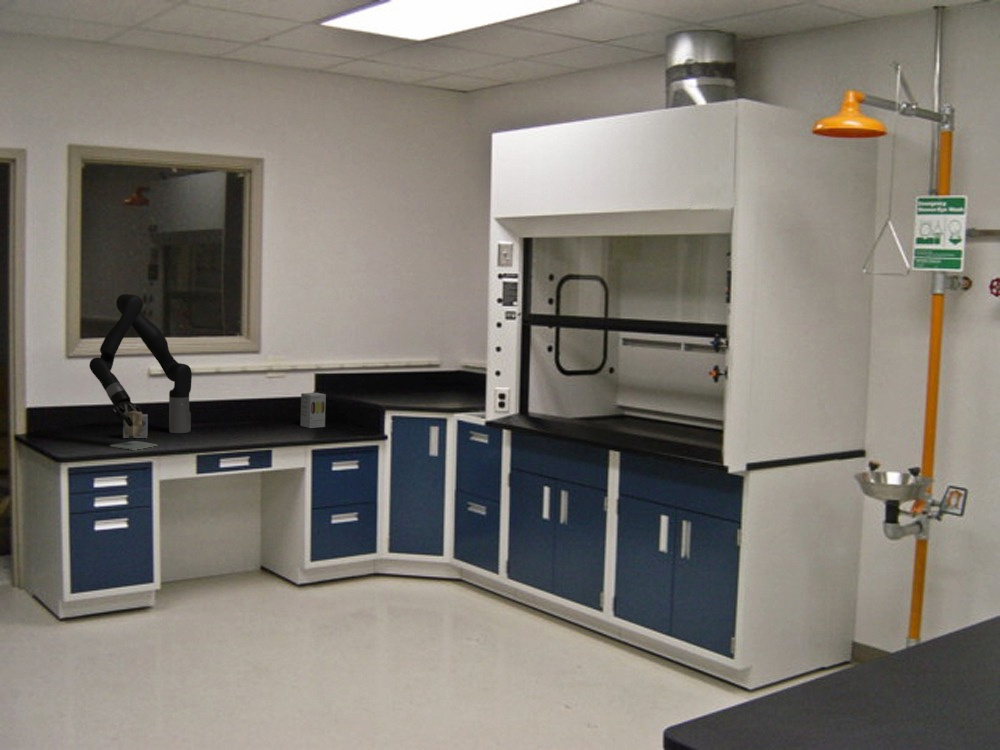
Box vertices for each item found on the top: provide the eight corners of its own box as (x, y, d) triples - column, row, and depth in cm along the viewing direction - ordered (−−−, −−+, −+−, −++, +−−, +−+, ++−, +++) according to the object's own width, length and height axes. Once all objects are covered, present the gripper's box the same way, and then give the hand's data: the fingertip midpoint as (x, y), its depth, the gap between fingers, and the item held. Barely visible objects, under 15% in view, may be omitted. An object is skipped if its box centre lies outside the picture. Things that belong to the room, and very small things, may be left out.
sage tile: (135, 442, 487) (135, 440, 487) (157, 446, 480) (157, 444, 480) (110, 447, 475) (110, 444, 475) (132, 451, 468) (132, 448, 468)
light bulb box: (122, 439, 495) (122, 416, 494) (123, 436, 502) (123, 413, 500) (147, 439, 498) (147, 416, 497) (147, 436, 505) (147, 413, 503)
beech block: (134, 433, 480) (134, 411, 479) (141, 434, 478) (142, 412, 477) (125, 434, 476) (125, 412, 475) (133, 435, 474) (133, 413, 473)
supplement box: (309, 428, 543) (310, 395, 541) (299, 425, 550) (300, 393, 548) (325, 426, 550) (326, 394, 548) (315, 424, 557) (316, 392, 555)
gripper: (109, 391, 472) (128, 421, 468) (134, 388, 485) (153, 417, 480) (100, 401, 476) (119, 431, 471) (126, 398, 488) (145, 428, 483)
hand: (136, 424), depth 476 cm, fingers closed on beech block, 5 cm apart
